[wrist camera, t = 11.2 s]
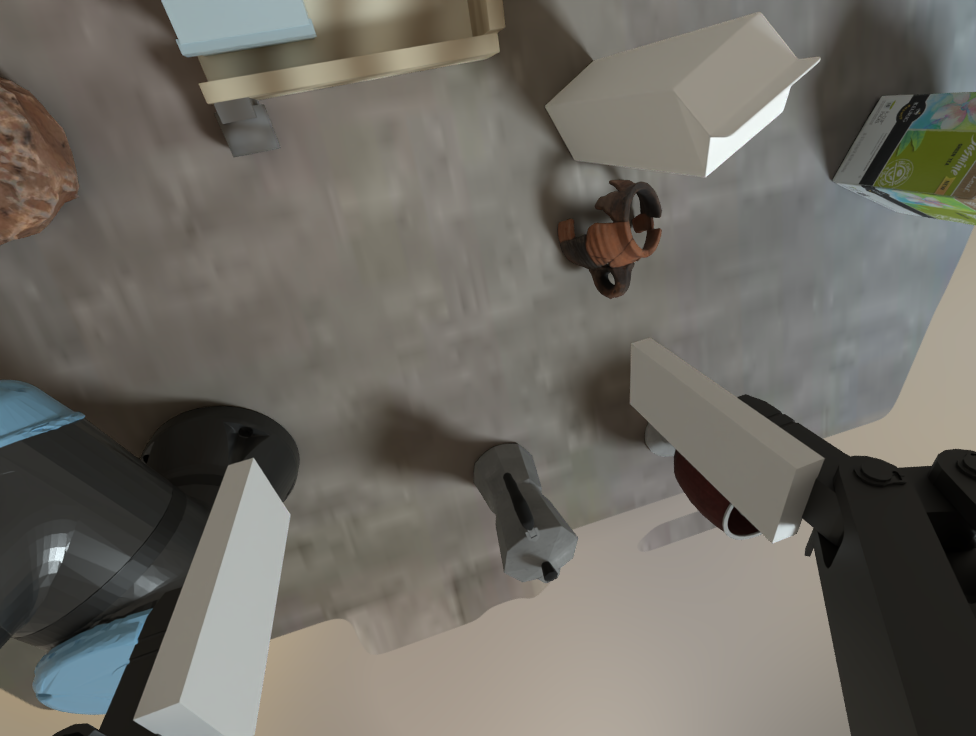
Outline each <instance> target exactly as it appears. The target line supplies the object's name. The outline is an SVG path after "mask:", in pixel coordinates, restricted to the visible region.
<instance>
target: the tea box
mask: <svg viewBox="0 0 976 736" xmlns="http://www.w3.org/2000/svg"><path fill="white" fill-rule="evenodd" d="M832 181H834V183H836V184H838V185H840V186H842V187H844V188H846V189H848V190H850V191H852V192H854V193H856V194H858V195H861V196H863V197H865V198H867V199H870V200H871V201H873V202H876V203H878V204H880V205H883V206H884V207H887V208H889V209H891V210H894V211H896V212H899V213H905V214H911V215H917V216H923V217H928V218H935V219H941V220H947V221H954V222H960V223H965V224H971V225H976V92H961V93H937V94H922V95H892V96H882V97H881V98H880V100H879V102H878V103H877V105H876V106H875V108H874V110H873V111H872V113H871V115H870V116H869V118H868V119H867V121H866V123H865V125H864V126H863V128H862V130H861V131H860V133H859V135H858V137H857V138H856V140H855V142H854V143H853V145H852V147H851V149H850V150H849V152H848V154H847V156H846V157H845V159H844V161H843V163H842V164H841V166H840V168H839V170H838V171H837V173H836V175H835V177H834V179H833V180H832Z"/></svg>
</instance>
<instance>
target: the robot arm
mask: <svg viewBox="0 0 976 736" xmlns="http://www.w3.org/2000/svg"><path fill="white" fill-rule="evenodd" d="M630 404H631V405H632V406H633V407H634V408H635V409H636V410H637V411H638V412H639V413H640V414H641V415H642V416H643V417H644V418H645V419H646V420H647V421H648V422H649V423H650V424H651V425H652V426H653V427H654V428H655V429H656V430H657V431H658V432H659V433H660V434H661V435H662V436H663V437H664V438H665V439H666V440H667V441H668V442H669V443H670V444H671V445H672V446H673V447H674V448H675V449H676V450H677V451H678V452H679V453H680V454H681V455H683V456H684V457H685V458H686V459H687V460H688V461H689V462H690V463H691V464H692V465H693V466H694V467H695V468H696V469H697V470H698V471H699V472H700V473H701V474H702V475H703V476H704V477H705V478H706V479H707V480H708V481H709V482H710V483H711V484H712V485H713V486H714V487H715V488H716V489H717V490H718V491H719V492H720V493H721V494H722V495H723V496H724V497H725V498H726V499H727V500H728V501H729V502H730V503H731V504H732V505H733V506H734V507H735V508H736V509H737V510H739V511H740V512H741V513H742V514H743V515H744V516H745V517H746V518H747V519H748V520H749V521H750V522H751V523H752V524H753V525H754V526H755V527H756V528H757V529H758V530H759V531H760V532H761V533H762V534H763V535H764V536H765V537H766V538H767V539H768V540H769V541H770V542H771V543H772V544H773V543H775V542H777V541H780V540H782V539H785V538H787V537H790V536H792V535H795V534H797V532H798V529H799V527H800V524H801V521H802V518H803V519H804V520H805V521H806V522H807V523H809V524H810V525H811V526H812V527H813V531H812V534H811V536H810V538H809V541H808V543H807V546H806V548H805V556H810V555H811V553H812V551H813V548H814V551H815V556H816V561H817V566H818V571H819V576H820V581H821V586H822V591H823V596H824V601H825V606H826V611H827V616H828V621H829V626H830V631H831V636H832V641H833V647H834V652H835V656H836V662H837V667H838V672H839V677H840V682H841V687H842V692H843V696H844V702H845V707H846V712H847V717H848V722H849V726H850V732H851V736H976V452H975V451H971V450H961V449H953V450H945V451H943V452H941V453H940V454H938V456H937V458H936V459H935V461H934V463H933V465H932V466H921V467H905V468H897V467H896V466H894V465H892V464H890V463H887V462H885V461H883V460H881V459H877V458H873V457H868V456H851V457H850V456H848V455H847V454H845V453H843V452H842V451H840V450H839V449H837V448H836V447H834V446H833V445H831V444H830V443H828V442H827V441H825V440H824V439H822V438H820V437H819V436H817V435H816V434H814V433H813V432H811V431H810V430H808V429H807V428H805V427H804V426H802V425H801V424H799V423H795V421H794V420H793V419H791V418H790V417H788V416H787V415H785V414H782V413H781V411H779V410H778V409H776V408H775V407H773V406H772V405H770V404H768V403H767V402H765V401H763V400H760V399H757V398H754V397H752V396H749V395H746V394H745V395H742V396H739V397H735V396H734V395H732V394H731V393H730V392H728V391H727V390H725V389H724V388H722V387H721V386H719V385H718V384H717V383H715V382H714V381H712V380H711V379H709V378H708V377H706V376H705V375H704V374H702V373H701V372H699V371H698V370H696V369H695V368H693V367H692V366H691V365H689V364H688V363H686V362H685V361H683V360H682V359H680V358H679V357H678V356H676V355H675V354H673V353H672V352H670V351H669V350H667V349H666V348H665V347H663V346H662V345H660V344H659V343H657V342H656V341H654V340H653V339H652V338H647V339H644V340H640V341H637V342H634V343H631V375H630ZM84 417H85V415H84V414H83V413H81V412H74V411H73V410H71V409H69V408H68V407H66V406H65V405H63V404H61V403H60V402H58V401H57V400H55V399H54V398H52V397H51V396H49V395H48V394H46V393H45V392H43V391H42V390H40V389H39V388H37V387H35V386H33V385H31V384H29V383H26V382H22V381H17V380H0V648H1V647H2V646H3V645H4V644H5V643H6V642H7V641H8V640H9V639H10V638H14V639H17V640H20V641H22V642H25V643H28V644H30V645H32V646H35V647H37V648H40V649H42V650H44V651H45V652H46V655H45V656H43V657H42V659H41V660H40V661H39V663H38V664H37V666H36V669H35V671H34V672H35V678H34V681H33V690H34V692H35V693H36V697H37V699H38V700H39V701H40V702H41V703H42V704H44V705H46V706H48V707H50V708H52V709H55V710H58V711H62V712H68V713H75V714H90V715H91V714H92V715H96V714H97V715H98V714H106V715H105V717H104V720H103V722H102V724H101V727H100V729H99V730H98V729H96V728H94V727H93V726H91V725H89V724H74V725H72V726H69V727H67V728H65V729H63V730H61V731H59V732H57V733H56V734H54V735H53V736H254V735H255V729H256V723H257V717H258V711H259V704H260V698H261V692H262V686H263V680H264V674H265V667H266V662H267V655H268V649H269V643H270V637H271V631H272V625H273V619H274V612H275V606H276V600H277V594H278V588H279V582H280V576H281V570H282V563H283V557H284V551H285V545H286V539H287V533H288V527H289V521H290V513H289V512H288V510H287V509H286V507H285V506H284V504H283V502H284V501H285V500H286V498H287V497H288V496H289V494H290V493H291V491H292V489H293V487H294V485H295V482H296V479H297V475H298V469H299V460H300V459H299V451H298V448H297V445H296V443H295V441H294V440H293V438H292V437H291V435H290V434H289V433H288V432H287V431H286V430H285V429H284V428H283V427H282V426H281V425H280V424H278V423H277V422H275V421H274V420H272V419H270V418H269V417H267V416H264V415H262V414H260V413H257V412H254V411H251V410H247V409H242V408H237V407H227V406H215V407H205V408H199V409H195V410H191V411H188V412H185V413H182V414H180V415H178V416H176V417H174V418H172V419H170V420H169V421H167V422H166V423H165V424H163V425H162V426H161V427H160V428H159V429H158V430H157V431H156V433H155V434H154V435H153V437H152V438H151V440H150V441H149V443H148V444H147V446H146V448H145V449H144V451H143V453H142V456H141V459H140V460H139V459H138V458H137V457H135V456H134V455H133V454H131V453H130V452H129V451H127V450H126V449H125V448H123V447H122V446H121V445H120V444H118V443H117V442H116V441H114V440H113V439H112V438H110V437H109V436H108V435H106V434H105V433H104V432H102V431H101V430H100V429H98V428H97V427H96V426H94V425H93V424H92V423H90V422H89V421H88V420H86V419H85V418H84Z"/></svg>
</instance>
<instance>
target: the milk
mask: <svg viewBox="0 0 976 736" xmlns="http://www.w3.org/2000/svg"><path fill="white" fill-rule="evenodd" d="M819 61H820V57H811V58H805V59H798V58H797V57H796V56H795V55H794V53H793V52H792V51H791V50H790V48H789V47H788V46H787V45H786V43H785V42H784V41H783V40H782V38H781V37H780V36H779V34H778V33H777V32H776V31H775V29H774V28H773V27H772V26H771V24H770V23H769V22H768V21H767V19H766V18H765V17H764V16H763V14H762V13H761V12H757V13H753V14H750V15H746V16H743V17H740V18H736V19H733V20H729V21H726V22H723V23H719V24H716V25H712V26H709V27H706V28H702V29H699V30H696V31H692V32H689V33H685V34H682V35H679V36H675V37H672V38H668V39H665V40H662V41H658V42H655V43H651V44H648V45H645V46H641V47H638V48H635V49H631V50H628V51H624V52H621V53H618V54H614V55H611V56H607V57H604V58H601V59H597V60H594V61H593V62H592V63H590V64H589V65H588V66H587V67H586V68H585V69H584V70H583V71H582V72H581V73H580V74H579V75H578V76H576V77H575V78H574V79H573V80H572V81H571V82H570V83H569V84H568V85H567V86H566V87H565V88H564V89H562V90H561V91H560V92H559V93H558V94H557V95H556V96H555V97H554V98H553V99H552V100H551V101H550V102H548V103H547V104H546V105H545V108H546V110H547V112H548V113H549V115H550V117H551V119H552V121H553V122H554V124H555V126H556V128H557V130H558V131H559V133H560V135H561V137H562V139H563V140H564V142H565V144H566V146H567V148H568V149H569V151H570V153H571V155H572V157H573V158H574V160H576V161H583V162H591V163H598V164H606V165H614V166H622V167H629V168H637V169H645V170H653V171H660V172H668V173H676V174H683V175H691V176H699V177H706V176H708V175H709V174H710V173H711V172H712V171H714V170H715V169H716V168H717V167H718V166H719V165H721V164H722V163H723V162H724V161H725V160H727V159H728V158H729V157H730V156H731V155H732V154H734V153H735V152H736V151H737V150H738V149H739V148H741V147H742V146H743V145H744V144H745V143H746V142H748V141H749V140H750V139H751V138H752V137H754V136H755V135H756V134H757V133H758V132H759V131H761V130H762V129H763V128H764V127H765V126H766V125H768V124H769V123H770V122H771V121H772V120H774V119H775V118H776V117H777V116H778V115H779V114H781V113H782V112H783V110H784V107H785V104H786V100H787V97H788V94H789V91H790V88H791V86H792V85H793V84H794V83H795V82H796V81H797V80H799V79H800V78H801V77H802V76H803V75H804V74H806V73H807V72H808V71H809V70H810V69H811V68H813V67H814V66H815V65H816V64H817V63H818V62H819Z"/></svg>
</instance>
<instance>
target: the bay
mask: <svg viewBox="0 0 976 736" xmlns="http://www.w3.org/2000/svg"><path fill="white" fill-rule="evenodd" d="M304 4H305V7H306V10H307V13H308V17H309V19H311V20H312V23H313V26H314V30H315V33H316V36H317V37H315V39H310V40H304V41H298V42H292V43H285V44H279V45H273V46H267V47H260V48H254V49H248V50H242V51H236V52H229V53H223V54H217V55H211V56H203V55H199V56H197V57H198V59H199V61H200V64H201V66H202V68H203V71H204V73H205V75H206V78H207V80H208V82H204V83H198V84H199V86H200V88H201V91H202V93H203V95H204V97H205V100H206V102H207V104H212V105H214V106H215V108H216V110H217V112H216V113H214V114H215V116H216V118H217V121H218V123H219V125H220V127H221V130H222V132H223V134H224V136H225V139H226V141H227V143H228V146H229V148H230V150H231V152H232V155H233V157H239V156H244V155H249V154H254V153H259V152H264V151H269V150H274V149H279V148H281V147H280V145H279V142H278V140H277V137H276V134H275V132H274V129H273V127H272V124H271V121H270V119H269V116H268V114H267V111H266V108H265V106H264V105H259V103H258V100H262V99H267V98H273V97H278V96H284V95H290V94H295V93H301V92H306V91H312V90H317V89H323V88H329V87H334V86H340V85H345V84H351V83H357V82H362V81H368V80H373V79H379V78H384V77H390V76H396V75H401V74H407V73H412V72H418V71H424V70H429V69H435V68H440V67H446V66H451V65H457V64H463V63H468V62H474V61H479V60H485V59H488V58H490V57H491V56H493V55H495V54H497V53H499V52H500V49H499V41H498V32H499V31H501V30H502V29H504V28H505V18H504V9H503V0H304Z"/></svg>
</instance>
